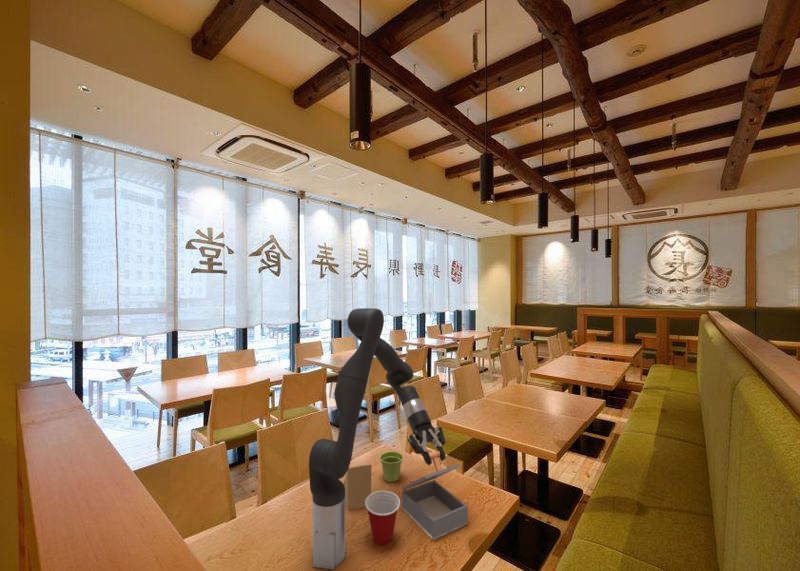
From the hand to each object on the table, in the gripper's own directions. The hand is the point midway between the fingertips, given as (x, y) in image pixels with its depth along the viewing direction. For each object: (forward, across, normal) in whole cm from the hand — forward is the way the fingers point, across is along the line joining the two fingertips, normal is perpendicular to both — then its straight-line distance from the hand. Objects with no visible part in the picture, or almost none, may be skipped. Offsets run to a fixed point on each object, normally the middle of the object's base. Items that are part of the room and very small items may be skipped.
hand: (436, 461), depth 120 cm
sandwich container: (-5, -17, +32) cm, 37 cm away
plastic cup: (+13, -20, +15) cm, 28 cm away
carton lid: (+3, 0, +8) cm, 8 cm away
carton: (+12, 0, +15) cm, 19 cm away
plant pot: (-7, 0, +34) cm, 35 cm away
